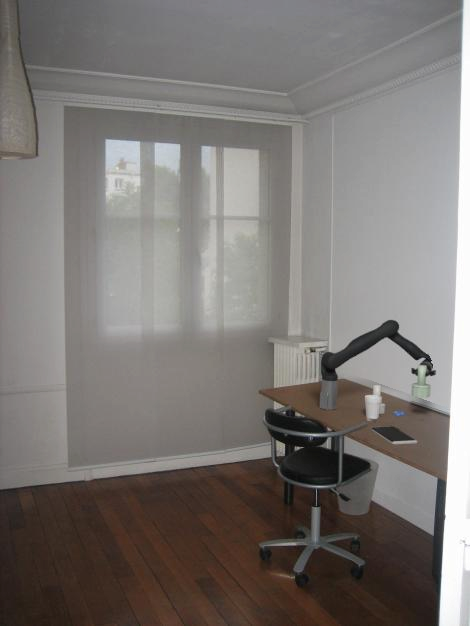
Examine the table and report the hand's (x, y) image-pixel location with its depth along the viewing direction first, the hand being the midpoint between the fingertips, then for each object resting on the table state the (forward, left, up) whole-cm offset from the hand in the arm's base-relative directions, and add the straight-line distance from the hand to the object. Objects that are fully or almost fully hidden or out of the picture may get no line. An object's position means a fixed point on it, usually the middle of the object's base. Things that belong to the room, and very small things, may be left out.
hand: (421, 374), depth 359 cm
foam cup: (-20, +16, -27) cm, 37 cm away
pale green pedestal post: (+2, +1, -12) cm, 13 cm away
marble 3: (0, +11, -25) cm, 28 cm away
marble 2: (-3, +11, -25) cm, 28 cm away
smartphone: (-34, -10, -27) cm, 45 cm away
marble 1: (-2, +14, -25) cm, 29 cm away
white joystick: (-8, +24, -27) cm, 37 cm away
